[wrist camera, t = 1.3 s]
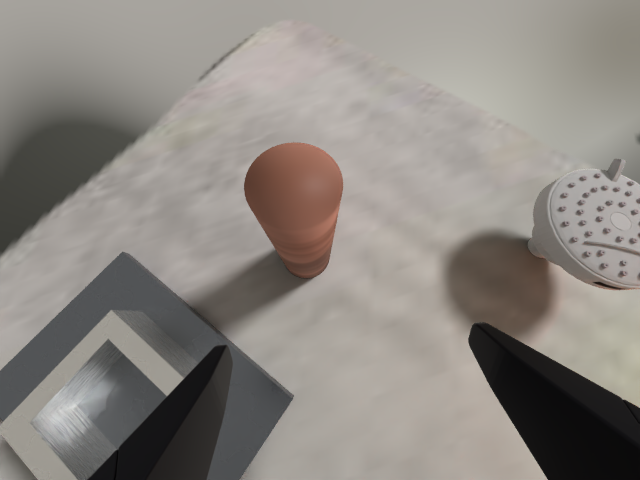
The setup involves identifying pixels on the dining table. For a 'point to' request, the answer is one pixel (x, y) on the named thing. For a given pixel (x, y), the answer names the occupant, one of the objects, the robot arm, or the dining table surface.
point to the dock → (124, 378)
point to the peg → (296, 203)
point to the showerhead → (591, 227)
